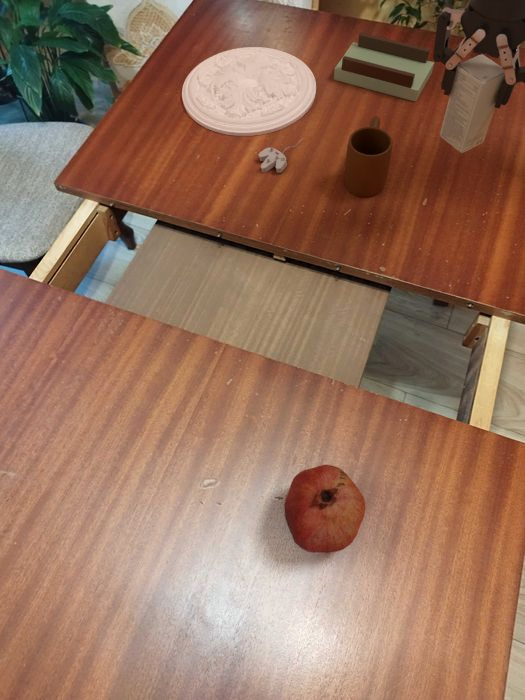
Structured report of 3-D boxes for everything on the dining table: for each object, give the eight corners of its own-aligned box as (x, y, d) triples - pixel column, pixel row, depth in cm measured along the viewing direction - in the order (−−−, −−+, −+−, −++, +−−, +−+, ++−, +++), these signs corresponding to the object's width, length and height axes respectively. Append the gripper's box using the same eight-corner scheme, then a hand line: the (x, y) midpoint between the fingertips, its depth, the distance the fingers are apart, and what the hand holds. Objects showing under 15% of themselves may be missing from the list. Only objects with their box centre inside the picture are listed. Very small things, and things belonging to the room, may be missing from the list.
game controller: (252, 169, 102) (251, 158, 100) (279, 132, 107) (279, 120, 105) (279, 178, 101) (279, 167, 98) (305, 140, 105) (306, 128, 103)
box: (484, 143, 79) (510, 72, 69) (460, 154, 78) (484, 84, 68) (459, 123, 81) (482, 51, 71) (437, 134, 80) (456, 63, 70)
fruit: (311, 462, 74) (313, 436, 65) (375, 504, 71) (387, 482, 62) (266, 528, 70) (262, 510, 61) (332, 576, 67) (338, 564, 58)
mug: (350, 150, 103) (355, 106, 95) (390, 155, 102) (399, 112, 94) (339, 195, 98) (344, 153, 90) (382, 201, 97) (390, 159, 88)
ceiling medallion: (327, 57, 118) (328, 43, 115) (299, 144, 105) (300, 130, 102) (205, 44, 122) (203, 30, 120) (164, 126, 109) (160, 112, 107)
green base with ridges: (431, 73, 114) (437, 50, 109) (415, 101, 109) (420, 78, 105) (351, 53, 118) (354, 30, 114) (333, 79, 114) (335, 56, 110)
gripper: (592, -44, 59) (533, 95, 73) (462, -67, 63) (430, 69, 77) (577, -8, 56) (518, 129, 70) (441, -35, 59) (412, 101, 74)
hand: (472, 97), depth 74 cm, fingers closed on box, 6 cm apart
